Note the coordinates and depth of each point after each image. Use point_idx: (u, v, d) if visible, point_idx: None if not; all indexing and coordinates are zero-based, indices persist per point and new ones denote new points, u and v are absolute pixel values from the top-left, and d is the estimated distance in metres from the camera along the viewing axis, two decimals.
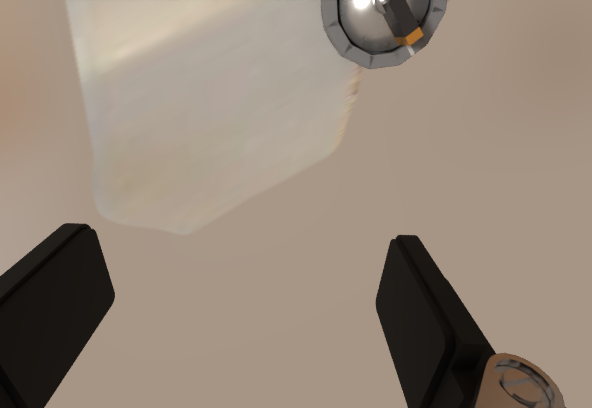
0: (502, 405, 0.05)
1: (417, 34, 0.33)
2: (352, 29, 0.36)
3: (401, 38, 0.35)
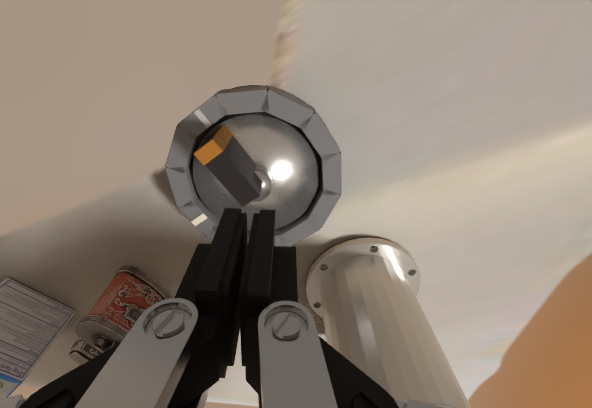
0: (279, 353, 0.06)
1: (203, 155, 0.20)
2: (298, 147, 0.24)
3: (225, 143, 0.21)
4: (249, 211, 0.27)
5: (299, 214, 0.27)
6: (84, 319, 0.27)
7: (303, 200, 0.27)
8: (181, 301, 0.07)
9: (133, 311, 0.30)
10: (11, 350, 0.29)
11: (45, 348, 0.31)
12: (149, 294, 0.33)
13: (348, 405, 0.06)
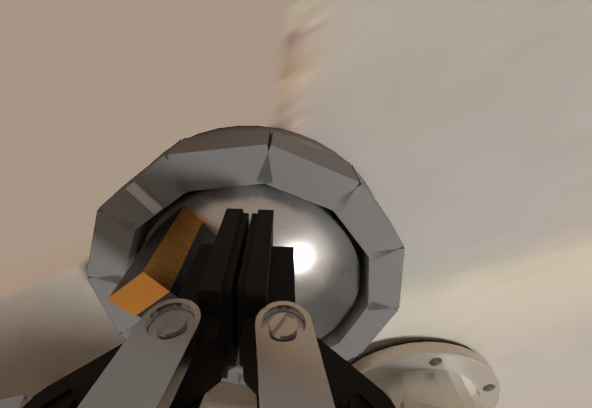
0: (276, 354, 0.06)
1: (130, 299, 0.09)
2: (323, 235, 0.13)
3: (181, 257, 0.11)
4: None
5: (327, 330, 0.16)
6: None
7: (333, 311, 0.16)
8: (184, 301, 0.07)
9: None
10: None
11: None
12: None
13: (345, 405, 0.05)
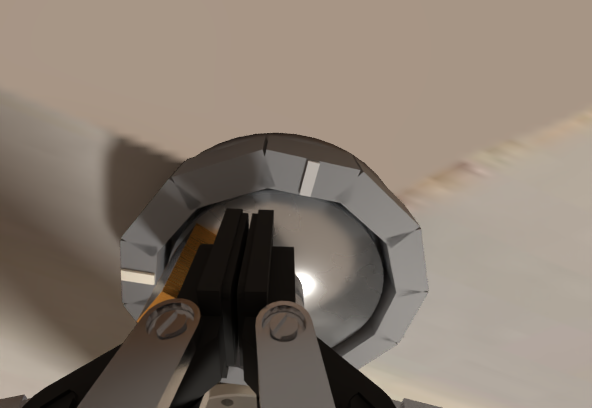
0: (276, 354, 0.06)
1: None
2: (335, 228, 0.13)
3: None
4: None
5: (362, 322, 0.16)
6: None
7: (363, 302, 0.15)
8: (183, 301, 0.07)
9: None
10: None
11: None
12: None
13: (345, 406, 0.05)
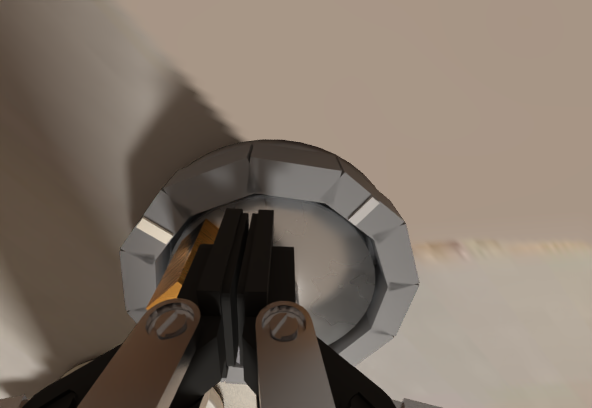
0: (276, 354, 0.06)
1: None
2: (336, 237, 0.14)
3: None
4: None
5: (348, 328, 0.17)
6: None
7: (352, 310, 0.16)
8: (183, 301, 0.07)
9: None
10: None
11: None
12: None
13: (345, 405, 0.05)
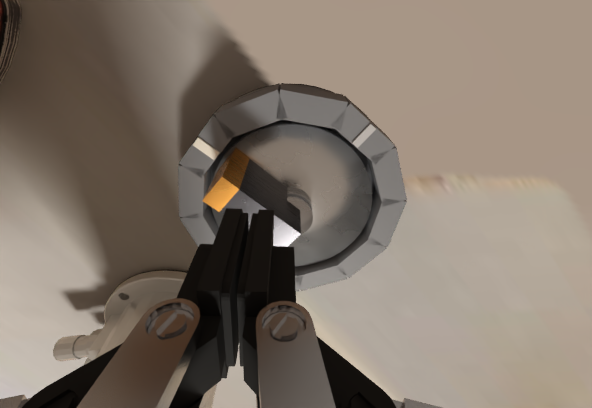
0: (276, 354, 0.06)
1: (215, 199, 0.15)
2: (337, 154, 0.18)
3: (241, 174, 0.16)
4: (291, 244, 0.21)
5: (355, 236, 0.21)
6: None
7: (356, 218, 0.20)
8: (183, 301, 0.07)
9: None
10: None
11: None
12: None
13: (345, 405, 0.05)
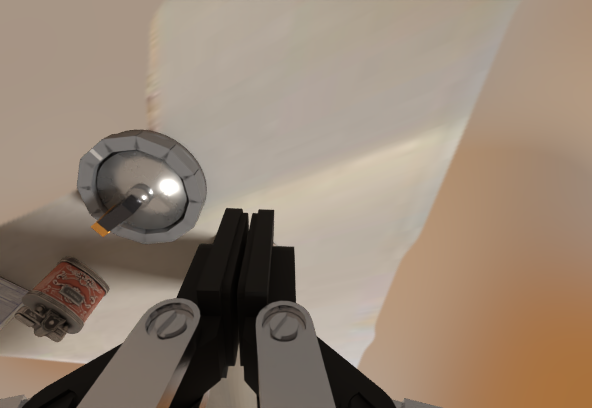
0: (277, 354, 0.06)
1: (102, 232, 0.35)
2: (111, 166, 0.35)
3: (103, 216, 0.35)
4: (170, 198, 0.37)
5: (165, 164, 0.35)
6: (27, 293, 0.38)
7: (152, 161, 0.35)
8: (183, 301, 0.07)
9: (67, 289, 0.41)
10: None
11: (6, 318, 0.43)
12: (83, 278, 0.44)
13: (345, 406, 0.05)
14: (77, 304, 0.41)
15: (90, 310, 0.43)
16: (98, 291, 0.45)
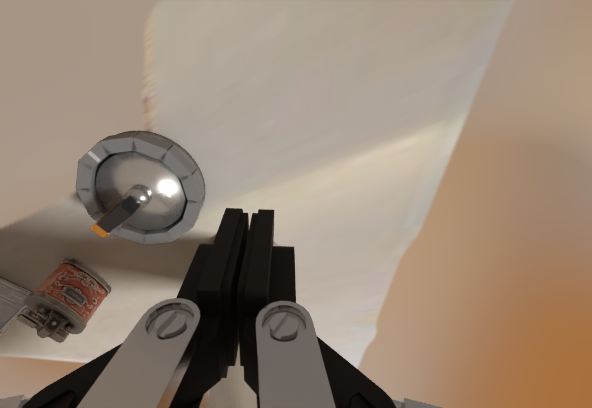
0: (276, 354, 0.06)
1: (101, 233, 0.35)
2: (109, 167, 0.35)
3: (102, 217, 0.35)
4: (168, 199, 0.37)
5: (163, 165, 0.35)
6: (30, 294, 0.38)
7: (150, 162, 0.35)
8: (183, 301, 0.07)
9: (69, 290, 0.41)
10: None
11: (9, 319, 0.43)
12: (85, 279, 0.44)
13: (345, 405, 0.05)
14: (79, 305, 0.42)
15: (92, 310, 0.43)
16: (99, 291, 0.45)
